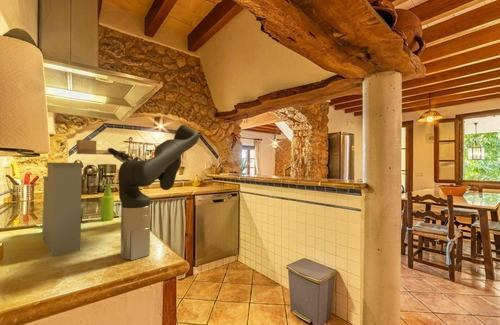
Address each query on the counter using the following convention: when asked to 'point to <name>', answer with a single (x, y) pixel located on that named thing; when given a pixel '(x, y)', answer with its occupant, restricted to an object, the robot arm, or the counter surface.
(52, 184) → the tall stepped gray tower
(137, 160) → the robot arm
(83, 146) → the mallet
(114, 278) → the counter surface
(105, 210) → the soap dispenser
